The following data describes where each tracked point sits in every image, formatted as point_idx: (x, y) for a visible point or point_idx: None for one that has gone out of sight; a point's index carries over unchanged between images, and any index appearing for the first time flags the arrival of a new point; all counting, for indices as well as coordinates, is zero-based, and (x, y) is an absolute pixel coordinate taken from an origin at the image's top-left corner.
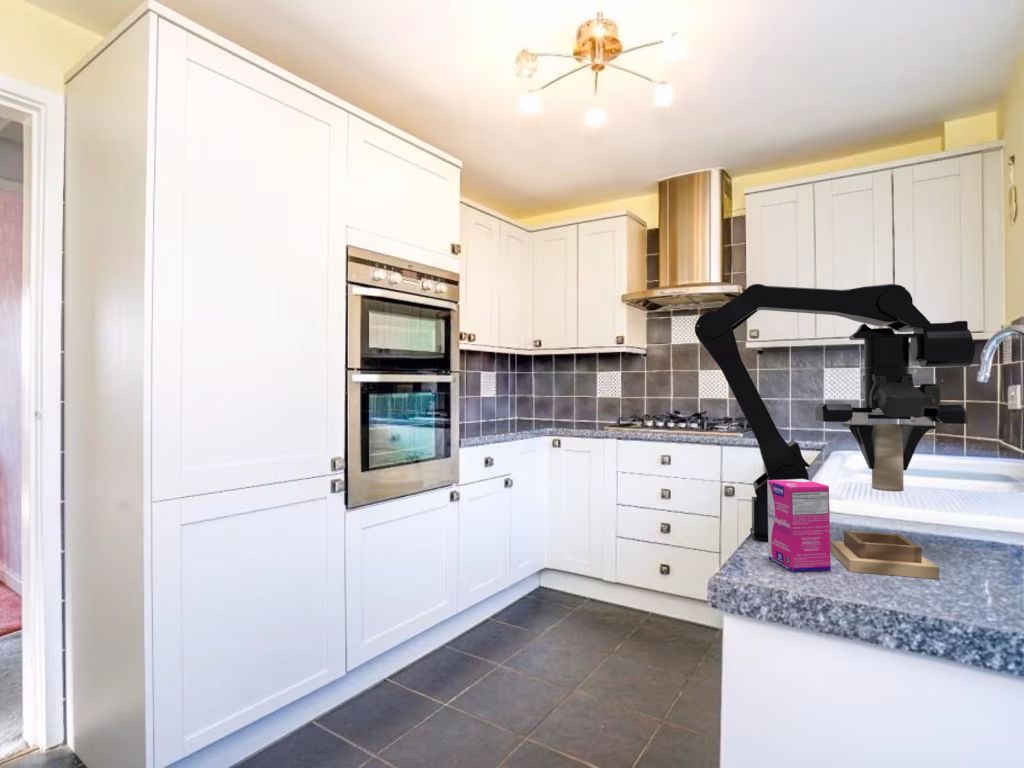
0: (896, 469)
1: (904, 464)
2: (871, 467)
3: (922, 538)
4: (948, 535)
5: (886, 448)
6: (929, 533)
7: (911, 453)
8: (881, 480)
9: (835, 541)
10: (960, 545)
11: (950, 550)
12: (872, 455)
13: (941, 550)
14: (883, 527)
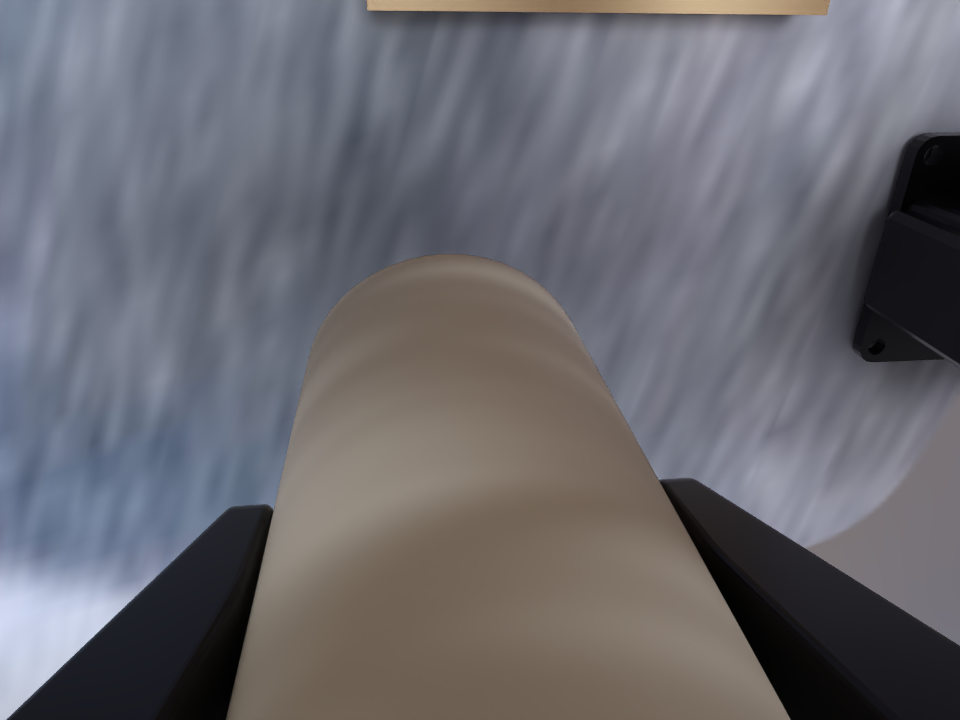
0: (406, 381)
1: (246, 550)
2: (694, 481)
3: (183, 487)
4: (39, 587)
5: (649, 662)
6: (126, 596)
7: (59, 699)
8: (562, 331)
9: (800, 12)
10: (12, 403)
11: (86, 270)
12: (786, 594)
13: (136, 253)
14: None
